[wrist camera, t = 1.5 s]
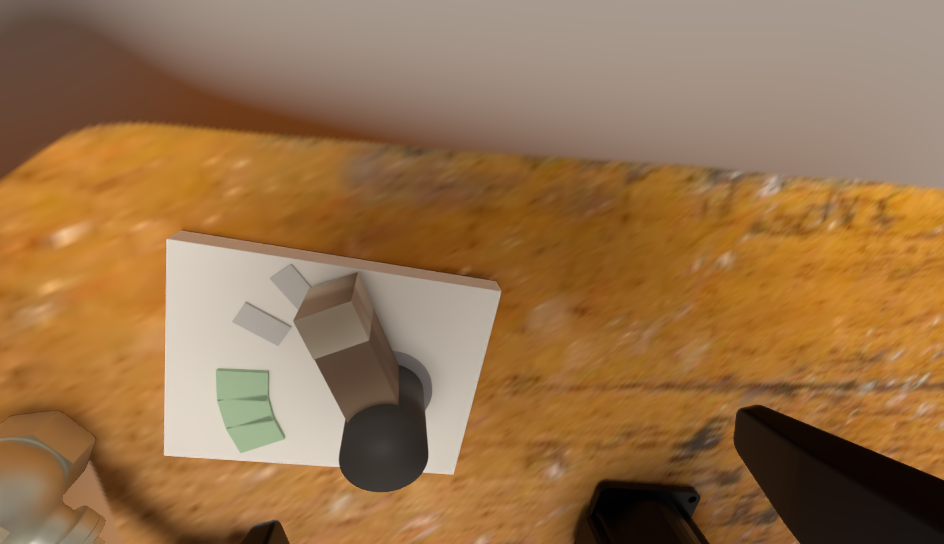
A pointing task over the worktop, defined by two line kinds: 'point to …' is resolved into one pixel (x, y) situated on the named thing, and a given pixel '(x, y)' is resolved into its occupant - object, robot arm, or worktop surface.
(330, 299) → the lever
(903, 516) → the robot arm
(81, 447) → the valve
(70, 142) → the worktop surface
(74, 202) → the worktop surface
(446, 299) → the dial board
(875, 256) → the worktop surface
